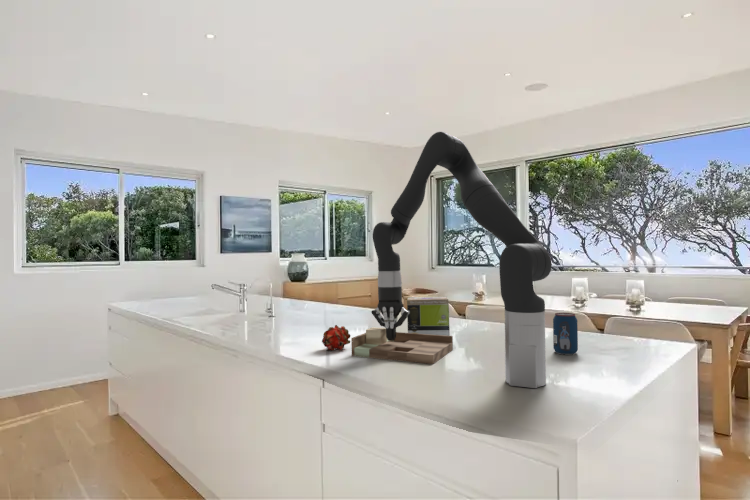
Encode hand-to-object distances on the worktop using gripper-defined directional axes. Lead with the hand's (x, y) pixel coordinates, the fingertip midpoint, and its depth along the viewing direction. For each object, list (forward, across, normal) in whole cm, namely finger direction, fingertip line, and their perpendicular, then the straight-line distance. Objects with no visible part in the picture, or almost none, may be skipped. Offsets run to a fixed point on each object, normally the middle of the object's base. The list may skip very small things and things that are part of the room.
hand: (391, 339), depth 147 cm
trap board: (+4, +4, 0) cm, 6 cm away
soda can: (+5, +50, +19) cm, 54 cm away
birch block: (+1, -5, 0) cm, 5 cm away
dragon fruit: (+4, -18, -4) cm, 19 cm away
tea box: (+4, +3, +27) cm, 27 cm away
